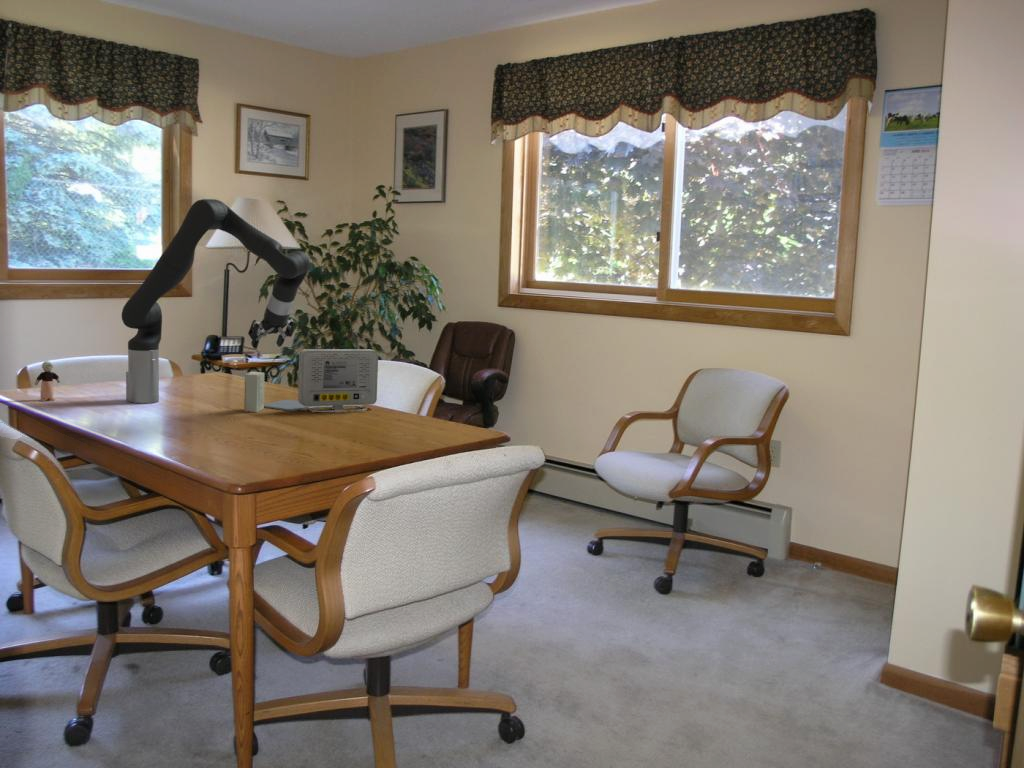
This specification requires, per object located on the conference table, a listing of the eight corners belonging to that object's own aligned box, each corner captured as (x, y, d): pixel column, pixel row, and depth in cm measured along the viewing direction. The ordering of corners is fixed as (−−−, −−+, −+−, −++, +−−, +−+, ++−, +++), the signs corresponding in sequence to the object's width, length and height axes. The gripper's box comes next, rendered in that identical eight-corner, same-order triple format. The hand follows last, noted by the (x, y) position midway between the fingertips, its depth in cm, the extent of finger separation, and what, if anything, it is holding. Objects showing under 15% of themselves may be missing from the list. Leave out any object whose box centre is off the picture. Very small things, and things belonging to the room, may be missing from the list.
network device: (370, 406, 302) (372, 348, 299) (379, 411, 294) (380, 351, 291) (296, 408, 290) (297, 348, 287) (302, 413, 282) (303, 351, 279)
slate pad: (259, 406, 290) (259, 404, 290) (286, 401, 303) (286, 399, 302) (293, 411, 284) (293, 409, 284) (319, 405, 297) (319, 404, 297)
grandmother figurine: (40, 402, 278) (39, 362, 276) (33, 400, 280) (32, 361, 278) (63, 399, 284) (62, 360, 283) (56, 398, 286) (55, 359, 284)
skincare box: (251, 408, 286) (251, 371, 285) (264, 409, 286) (265, 372, 284) (243, 411, 280) (243, 373, 279) (257, 412, 280) (257, 374, 278)
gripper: (294, 298, 282) (281, 337, 291) (253, 300, 272) (241, 340, 281) (304, 313, 278) (291, 352, 287) (263, 315, 269) (250, 355, 277)
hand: (266, 346), depth 284 cm, fingers open, 8 cm apart
